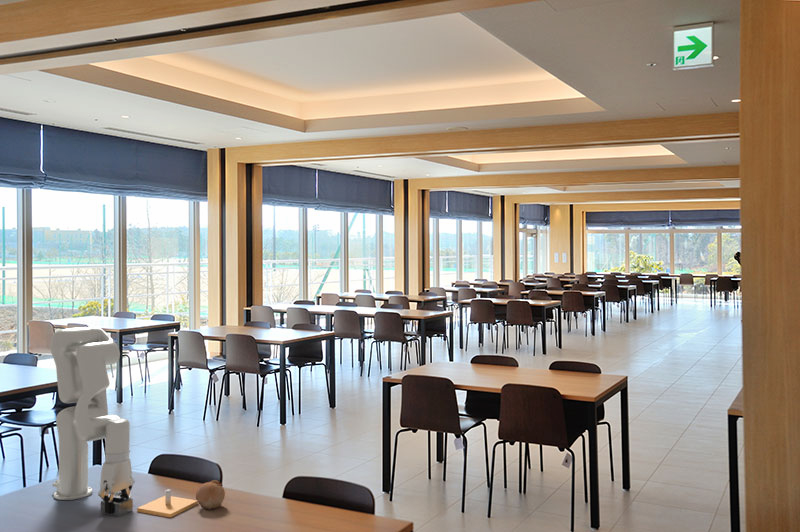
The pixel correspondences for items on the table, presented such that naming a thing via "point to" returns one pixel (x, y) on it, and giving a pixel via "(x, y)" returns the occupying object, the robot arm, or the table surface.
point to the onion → (210, 494)
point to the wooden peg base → (167, 505)
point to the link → (119, 506)
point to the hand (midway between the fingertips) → (116, 509)
